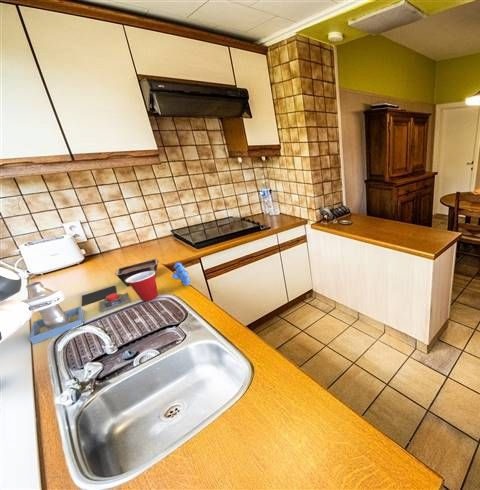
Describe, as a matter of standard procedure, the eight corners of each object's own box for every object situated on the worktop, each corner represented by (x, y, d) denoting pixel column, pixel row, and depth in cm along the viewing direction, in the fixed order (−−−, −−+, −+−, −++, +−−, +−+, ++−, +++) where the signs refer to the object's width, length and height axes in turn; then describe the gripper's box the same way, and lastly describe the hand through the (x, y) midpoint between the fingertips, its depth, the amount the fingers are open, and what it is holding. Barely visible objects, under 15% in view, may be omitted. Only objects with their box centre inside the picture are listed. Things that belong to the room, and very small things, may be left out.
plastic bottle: (54, 324, 108) (26, 282, 100) (75, 319, 110) (50, 278, 102) (44, 334, 102) (14, 291, 94) (67, 328, 105) (40, 285, 97)
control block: (101, 313, 114) (97, 307, 112) (100, 304, 119) (97, 299, 118) (130, 302, 120) (128, 296, 119) (128, 295, 126) (126, 289, 125)
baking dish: (127, 280, 143) (115, 265, 138) (165, 266, 151) (155, 251, 146) (124, 293, 133) (111, 278, 128) (164, 277, 140) (154, 262, 135)
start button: (107, 302, 116) (106, 298, 116) (107, 298, 119) (105, 295, 118) (118, 298, 119) (116, 295, 118) (118, 295, 121) (116, 292, 120)
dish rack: (33, 344, 97) (28, 338, 96) (37, 327, 106) (33, 321, 105) (84, 325, 106) (80, 319, 105) (84, 311, 115) (81, 305, 114)
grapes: (172, 284, 133) (163, 263, 128) (187, 278, 138) (179, 258, 133) (180, 291, 126) (171, 269, 121) (195, 285, 131) (187, 264, 126)
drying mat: (82, 306, 119) (81, 305, 118) (82, 296, 127) (81, 295, 126) (117, 295, 126) (116, 294, 126) (115, 286, 134) (114, 285, 134)
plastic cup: (161, 288, 130) (152, 267, 125) (167, 296, 123) (157, 274, 118) (133, 298, 122) (122, 276, 118) (137, 307, 116) (126, 284, 111)
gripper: (51, 292, 85) (64, 281, 96) (-53, 322, 74) (-24, 306, 85) (61, 309, 87) (73, 297, 97) (-39, 341, 76) (-12, 323, 87)
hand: (27, 301), depth 91 cm, fingers closed
